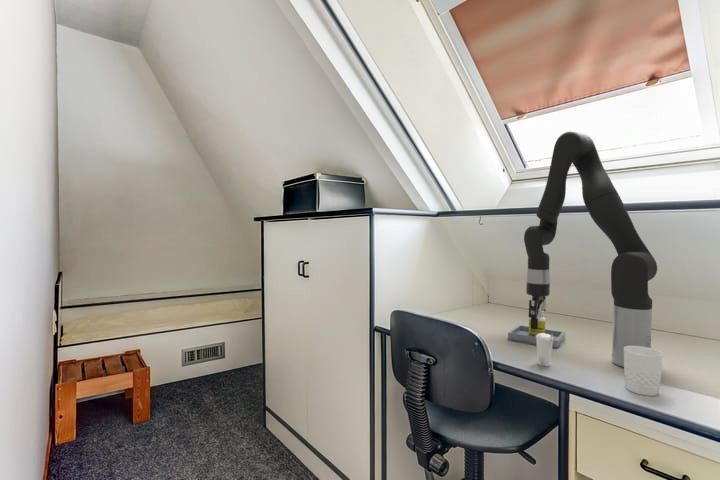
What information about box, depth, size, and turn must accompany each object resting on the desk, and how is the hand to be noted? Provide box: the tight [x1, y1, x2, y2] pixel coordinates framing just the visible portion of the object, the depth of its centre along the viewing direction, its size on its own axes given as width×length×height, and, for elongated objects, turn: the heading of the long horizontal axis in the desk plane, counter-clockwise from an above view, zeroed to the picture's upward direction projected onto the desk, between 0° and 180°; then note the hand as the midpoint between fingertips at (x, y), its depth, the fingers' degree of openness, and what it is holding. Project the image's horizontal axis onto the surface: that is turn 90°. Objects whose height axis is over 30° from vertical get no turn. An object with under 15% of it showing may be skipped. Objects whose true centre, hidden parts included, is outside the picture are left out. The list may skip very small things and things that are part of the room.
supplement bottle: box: [528, 310, 546, 337], centre depth 139 cm, size 5×5×10 cm
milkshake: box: [536, 333, 553, 367], centre depth 113 cm, size 4×5×10 cm
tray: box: [507, 324, 566, 349], centre depth 139 cm, size 16×14×2 cm
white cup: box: [623, 346, 664, 397], centre depth 96 cm, size 8×8×10 cm
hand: (536, 326), depth 139 cm, fingers open, 8 cm apart
